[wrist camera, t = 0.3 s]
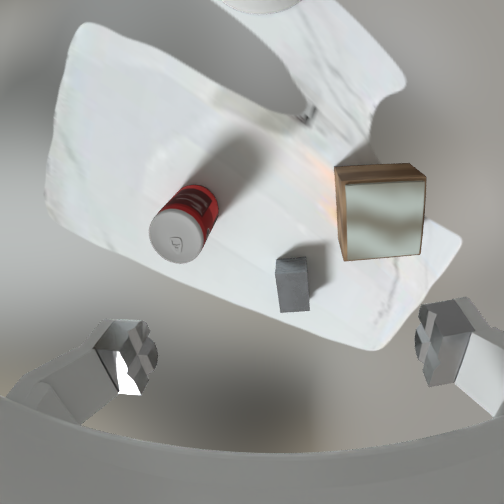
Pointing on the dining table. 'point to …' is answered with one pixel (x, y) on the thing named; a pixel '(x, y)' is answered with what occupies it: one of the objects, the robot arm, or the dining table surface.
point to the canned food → (184, 224)
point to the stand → (380, 210)
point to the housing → (292, 284)
